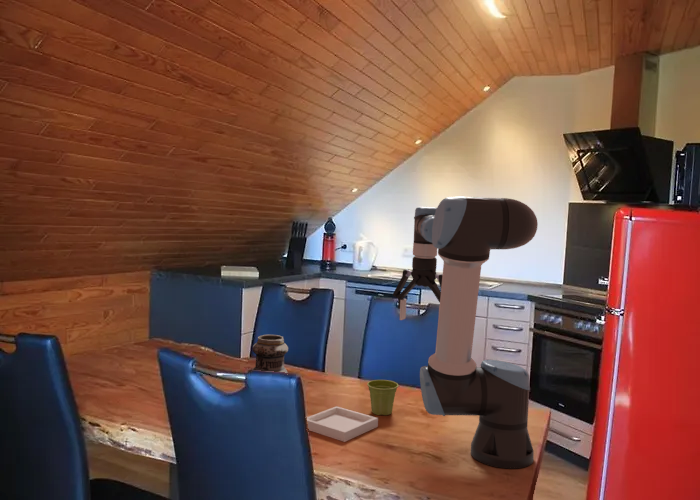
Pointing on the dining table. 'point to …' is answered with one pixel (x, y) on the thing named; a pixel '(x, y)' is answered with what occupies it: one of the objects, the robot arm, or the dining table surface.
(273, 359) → the apothecary jar
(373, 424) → the pot tray
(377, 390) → the plant pot
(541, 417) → the dining table surface
